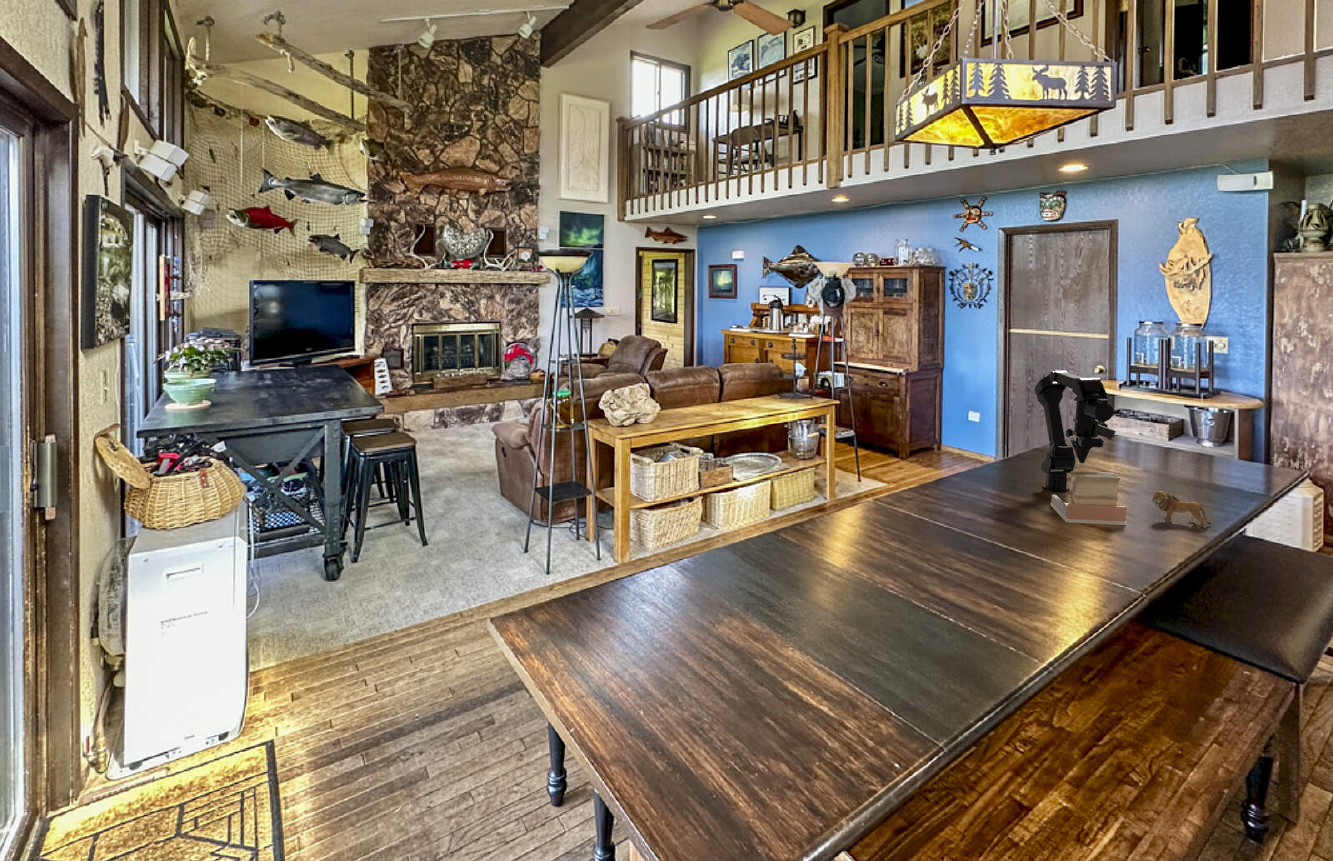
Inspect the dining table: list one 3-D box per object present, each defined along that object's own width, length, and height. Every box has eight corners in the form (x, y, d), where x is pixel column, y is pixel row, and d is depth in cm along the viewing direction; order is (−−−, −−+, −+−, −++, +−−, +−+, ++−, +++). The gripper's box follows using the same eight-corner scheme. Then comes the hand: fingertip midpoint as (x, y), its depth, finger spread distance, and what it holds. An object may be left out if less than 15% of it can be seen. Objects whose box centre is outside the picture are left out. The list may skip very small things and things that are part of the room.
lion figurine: (1150, 520, 208) (1153, 492, 207) (1150, 516, 213) (1153, 487, 211) (1211, 528, 200) (1215, 498, 198) (1210, 523, 204) (1214, 494, 203)
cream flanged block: (1067, 511, 216) (1070, 471, 214) (1108, 513, 213) (1112, 472, 211) (1073, 517, 210) (1076, 476, 207) (1116, 519, 207) (1120, 477, 204)
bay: (1050, 504, 227) (1051, 488, 226) (1105, 507, 223) (1106, 490, 222) (1066, 522, 209) (1067, 504, 208) (1126, 525, 205) (1128, 507, 204)
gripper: (1124, 421, 214) (1119, 470, 217) (1104, 412, 232) (1100, 457, 234) (1083, 421, 217) (1079, 469, 220) (1066, 411, 234) (1063, 456, 237)
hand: (1081, 463), depth 228 cm, fingers closed
